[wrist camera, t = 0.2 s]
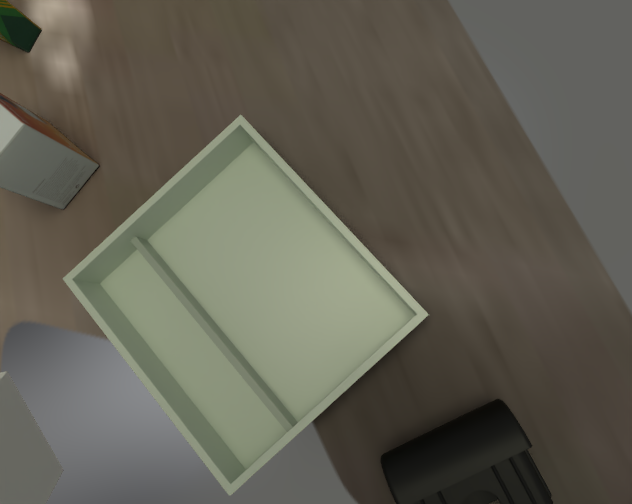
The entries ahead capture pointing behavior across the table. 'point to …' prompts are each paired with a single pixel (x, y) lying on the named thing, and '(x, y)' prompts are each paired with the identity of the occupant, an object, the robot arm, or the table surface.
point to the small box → (39, 157)
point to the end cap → (467, 463)
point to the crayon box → (17, 27)
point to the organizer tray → (242, 302)
